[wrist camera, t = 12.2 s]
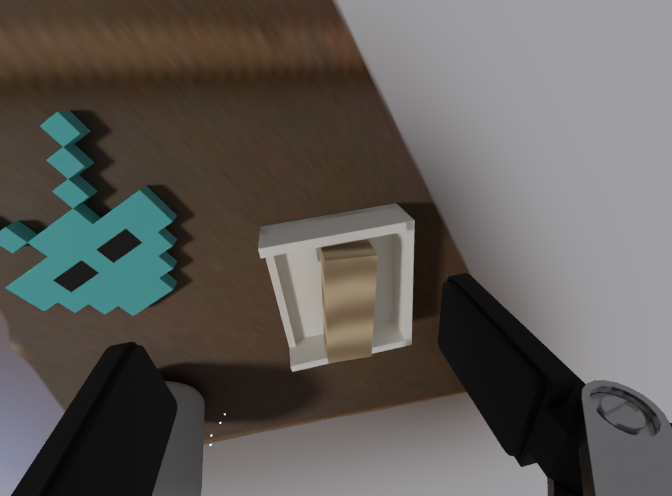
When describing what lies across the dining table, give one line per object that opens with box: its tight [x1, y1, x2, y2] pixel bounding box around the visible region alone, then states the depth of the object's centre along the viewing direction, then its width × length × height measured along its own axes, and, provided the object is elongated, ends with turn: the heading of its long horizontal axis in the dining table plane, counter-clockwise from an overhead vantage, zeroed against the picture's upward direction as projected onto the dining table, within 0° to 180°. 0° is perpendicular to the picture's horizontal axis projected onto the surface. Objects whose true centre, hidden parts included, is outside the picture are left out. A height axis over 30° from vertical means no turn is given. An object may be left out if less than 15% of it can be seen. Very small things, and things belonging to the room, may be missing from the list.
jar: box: [152, 381, 226, 496], centre depth 38 cm, size 19×15×25 cm
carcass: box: [258, 203, 415, 372], centre depth 41 cm, size 20×18×6 cm
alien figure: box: [0, 111, 177, 316], centre depth 34 cm, size 20×2×20 cm
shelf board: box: [320, 239, 378, 363], centre depth 38 cm, size 16×6×4 cm, turn 1°
